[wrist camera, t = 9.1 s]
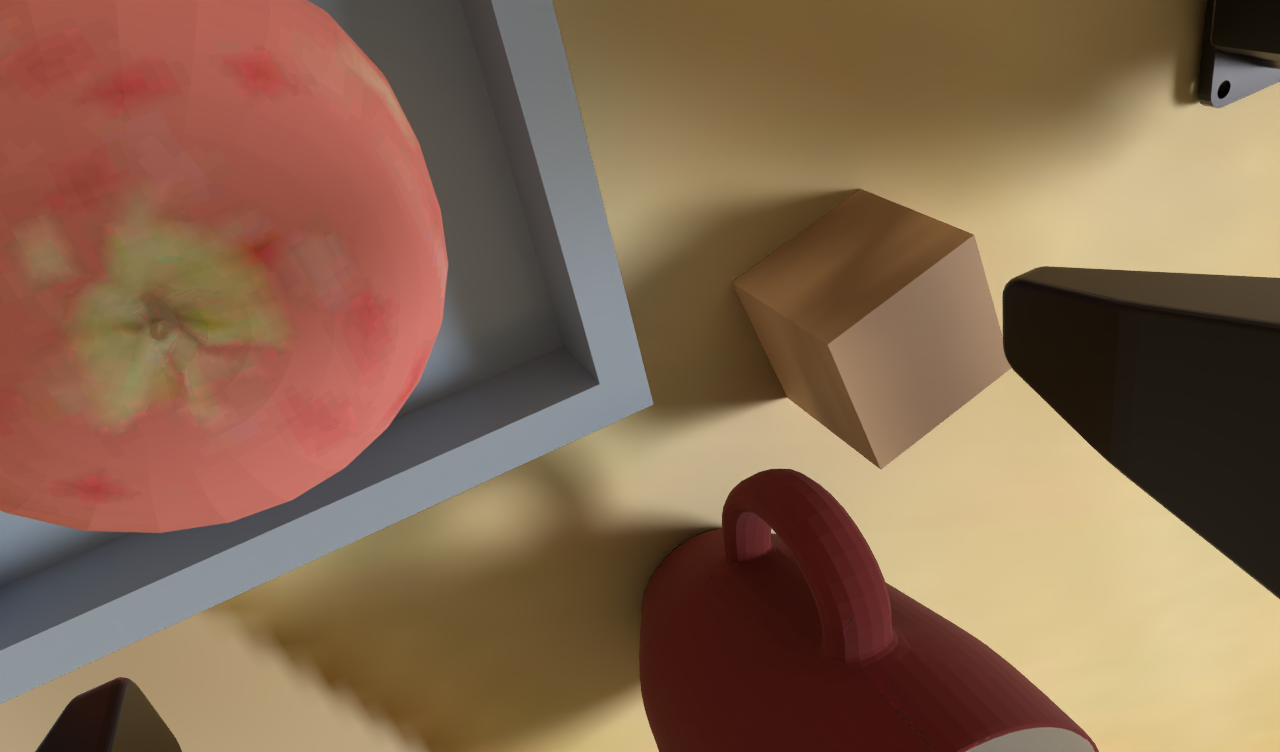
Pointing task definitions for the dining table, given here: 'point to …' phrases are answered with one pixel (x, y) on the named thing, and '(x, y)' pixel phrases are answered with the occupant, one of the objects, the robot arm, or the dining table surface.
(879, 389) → the walnut block
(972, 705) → the mug
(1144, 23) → the dining table surface
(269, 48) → the apple
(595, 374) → the dish
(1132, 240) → the dining table surface
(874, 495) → the dining table surface
